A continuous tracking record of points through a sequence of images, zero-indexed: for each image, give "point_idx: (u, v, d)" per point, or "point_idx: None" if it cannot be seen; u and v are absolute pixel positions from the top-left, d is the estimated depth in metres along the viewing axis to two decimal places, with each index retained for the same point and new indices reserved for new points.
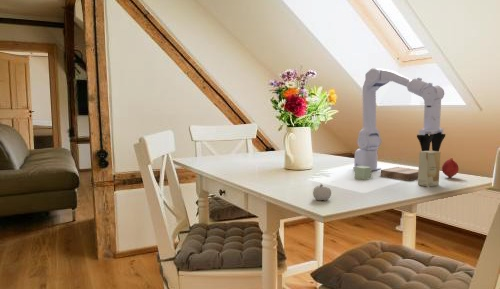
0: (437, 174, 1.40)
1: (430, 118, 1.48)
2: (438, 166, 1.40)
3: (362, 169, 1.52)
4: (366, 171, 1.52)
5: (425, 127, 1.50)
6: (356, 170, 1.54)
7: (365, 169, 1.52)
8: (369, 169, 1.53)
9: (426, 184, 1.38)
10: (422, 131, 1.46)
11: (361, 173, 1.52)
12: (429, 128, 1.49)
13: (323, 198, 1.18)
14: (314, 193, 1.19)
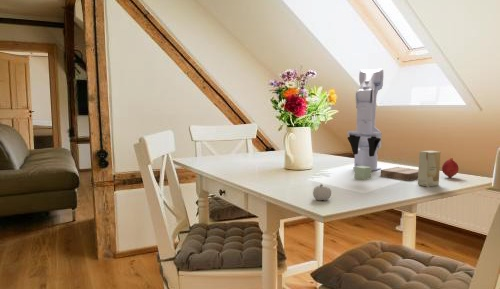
0: (437, 174, 1.40)
1: None
2: (438, 166, 1.40)
3: (362, 169, 1.52)
4: (366, 171, 1.52)
5: None
6: (356, 170, 1.54)
7: (365, 169, 1.52)
8: (369, 169, 1.53)
9: (426, 184, 1.38)
10: None
11: (361, 173, 1.52)
12: None
13: (323, 198, 1.18)
14: (314, 193, 1.19)
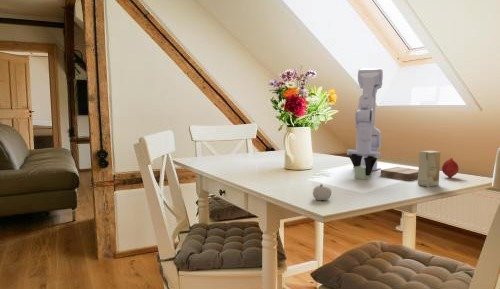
0: (437, 174, 1.40)
1: None
2: (438, 166, 1.40)
3: (362, 169, 1.52)
4: None
5: None
6: (356, 170, 1.54)
7: (365, 169, 1.52)
8: None
9: (426, 184, 1.38)
10: None
11: (361, 173, 1.52)
12: None
13: (323, 198, 1.18)
14: (314, 193, 1.19)
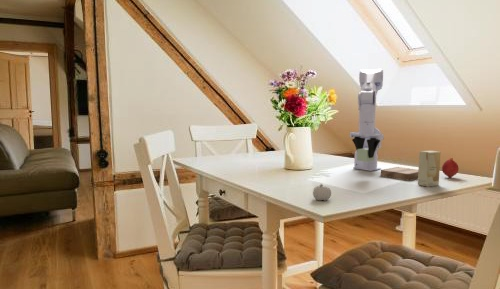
0: (437, 174, 1.40)
1: None
2: (438, 166, 1.40)
3: (365, 151, 1.51)
4: None
5: None
6: (359, 152, 1.54)
7: None
8: None
9: (426, 184, 1.38)
10: None
11: (364, 155, 1.52)
12: None
13: (323, 198, 1.18)
14: (314, 193, 1.19)
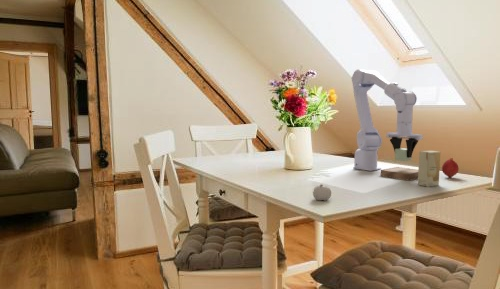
0: (437, 174, 1.40)
1: None
2: (438, 166, 1.40)
3: (403, 151, 1.54)
4: None
5: None
6: (397, 152, 1.56)
7: (406, 151, 1.54)
8: None
9: (426, 184, 1.38)
10: None
11: (402, 155, 1.55)
12: None
13: (323, 198, 1.18)
14: (314, 193, 1.19)
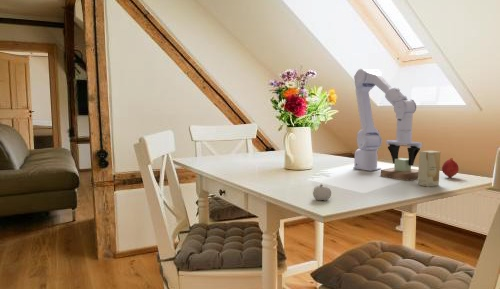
0: (437, 174, 1.40)
1: None
2: (438, 166, 1.40)
3: (403, 161, 1.54)
4: (406, 163, 1.55)
5: None
6: (396, 162, 1.57)
7: (406, 161, 1.54)
8: None
9: (426, 184, 1.38)
10: None
11: (401, 165, 1.55)
12: None
13: (323, 198, 1.18)
14: (314, 193, 1.19)
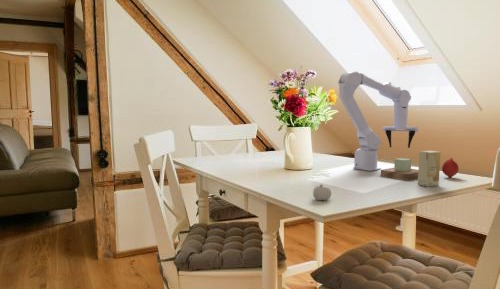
0: (437, 174, 1.40)
1: (394, 117, 1.75)
2: (438, 166, 1.40)
3: (403, 161, 1.54)
4: (406, 163, 1.55)
5: None
6: (396, 162, 1.57)
7: (406, 161, 1.54)
8: (409, 161, 1.56)
9: (426, 184, 1.38)
10: (383, 128, 1.78)
11: (401, 165, 1.55)
12: (393, 126, 1.76)
13: (323, 198, 1.18)
14: (314, 193, 1.19)
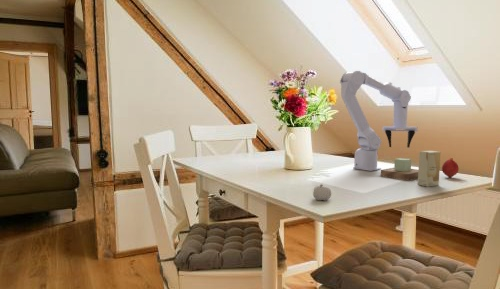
0: (437, 174, 1.40)
1: (393, 117, 1.76)
2: (438, 166, 1.40)
3: (403, 161, 1.54)
4: (406, 163, 1.55)
5: None
6: (396, 162, 1.57)
7: (406, 161, 1.54)
8: (409, 161, 1.56)
9: (426, 184, 1.38)
10: None
11: (401, 165, 1.55)
12: (393, 126, 1.77)
13: (323, 198, 1.18)
14: (314, 193, 1.19)
